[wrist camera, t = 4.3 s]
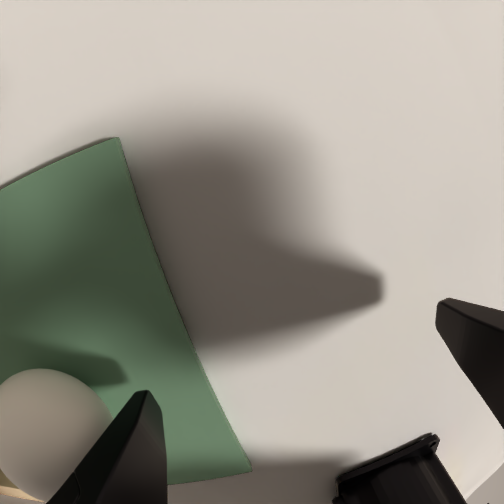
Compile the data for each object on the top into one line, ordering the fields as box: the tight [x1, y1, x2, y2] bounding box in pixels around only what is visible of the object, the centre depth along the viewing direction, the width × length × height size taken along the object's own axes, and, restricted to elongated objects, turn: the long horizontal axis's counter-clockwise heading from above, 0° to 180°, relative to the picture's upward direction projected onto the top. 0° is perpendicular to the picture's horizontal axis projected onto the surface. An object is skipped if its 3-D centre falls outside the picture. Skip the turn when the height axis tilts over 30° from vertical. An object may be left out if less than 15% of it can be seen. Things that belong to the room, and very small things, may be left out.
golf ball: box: [0, 368, 113, 502], centre depth 7 cm, size 4×4×4 cm
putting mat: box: [0, 137, 252, 485], centre depth 9 cm, size 18×14×1 cm
